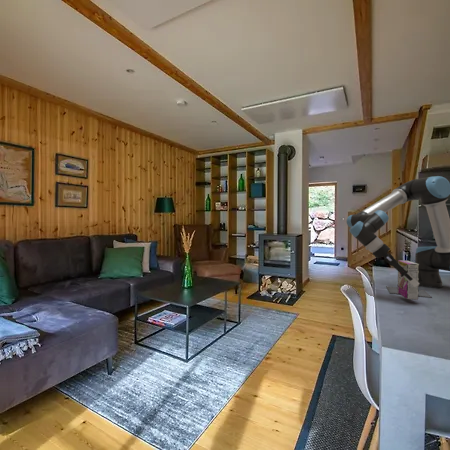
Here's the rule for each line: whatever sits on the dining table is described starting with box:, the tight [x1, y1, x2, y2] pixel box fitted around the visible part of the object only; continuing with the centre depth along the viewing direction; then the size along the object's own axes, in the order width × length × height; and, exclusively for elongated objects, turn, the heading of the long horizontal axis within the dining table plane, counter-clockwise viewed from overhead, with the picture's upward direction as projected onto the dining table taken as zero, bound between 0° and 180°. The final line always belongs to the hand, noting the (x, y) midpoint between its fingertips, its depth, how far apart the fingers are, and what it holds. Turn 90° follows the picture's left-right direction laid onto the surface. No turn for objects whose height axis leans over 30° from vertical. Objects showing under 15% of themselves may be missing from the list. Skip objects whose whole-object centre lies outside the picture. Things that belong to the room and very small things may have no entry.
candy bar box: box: [397, 259, 420, 301], centre depth 132 cm, size 11×5×16 cm, turn 168°
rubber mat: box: [385, 286, 433, 299], centre depth 148 cm, size 18×16×1 cm
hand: (414, 282), depth 131 cm, fingers closed on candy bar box, 12 cm apart
